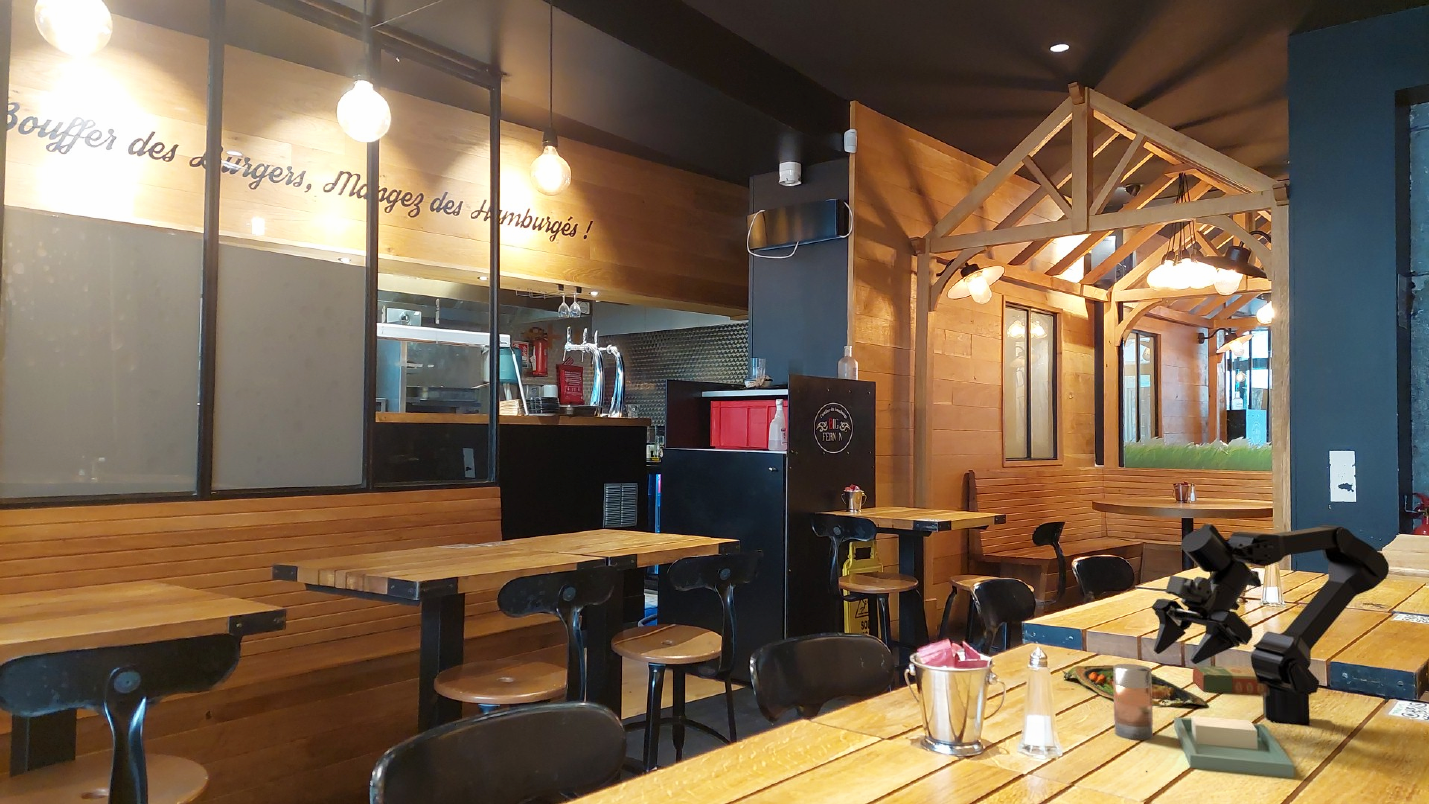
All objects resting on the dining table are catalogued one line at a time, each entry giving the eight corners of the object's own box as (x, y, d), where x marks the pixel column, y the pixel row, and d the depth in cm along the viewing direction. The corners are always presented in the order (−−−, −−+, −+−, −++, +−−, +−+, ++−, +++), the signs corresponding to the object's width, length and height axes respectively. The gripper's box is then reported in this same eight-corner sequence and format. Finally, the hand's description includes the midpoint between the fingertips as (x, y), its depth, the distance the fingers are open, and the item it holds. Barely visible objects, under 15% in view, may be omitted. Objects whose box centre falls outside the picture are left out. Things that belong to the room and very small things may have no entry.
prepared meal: (1219, 690, 184) (1134, 693, 181) (1219, 709, 184) (1134, 712, 181) (1131, 663, 212) (1056, 665, 208) (1132, 679, 211) (1056, 681, 208)
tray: (1264, 739, 164) (1264, 724, 164) (1294, 782, 143) (1293, 765, 143) (1174, 731, 168) (1174, 717, 168) (1190, 771, 148) (1190, 755, 148)
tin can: (1151, 735, 166) (1149, 665, 167) (1154, 745, 161) (1153, 673, 161) (1113, 731, 168) (1112, 662, 169) (1115, 741, 163) (1114, 670, 163)
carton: (1290, 698, 191) (1289, 676, 191) (1203, 694, 195) (1202, 673, 195) (1276, 687, 199) (1275, 667, 200) (1192, 684, 203) (1192, 663, 203)
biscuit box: (1250, 738, 162) (1250, 720, 162) (1257, 749, 156) (1257, 730, 157) (1191, 733, 165) (1191, 715, 165) (1196, 743, 159) (1196, 725, 160)
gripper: (1157, 554, 179) (1109, 619, 176) (1232, 564, 161) (1181, 636, 158) (1195, 594, 180) (1149, 658, 177) (1275, 607, 162) (1225, 680, 159)
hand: (1173, 657), depth 168 cm, fingers open, 9 cm apart
